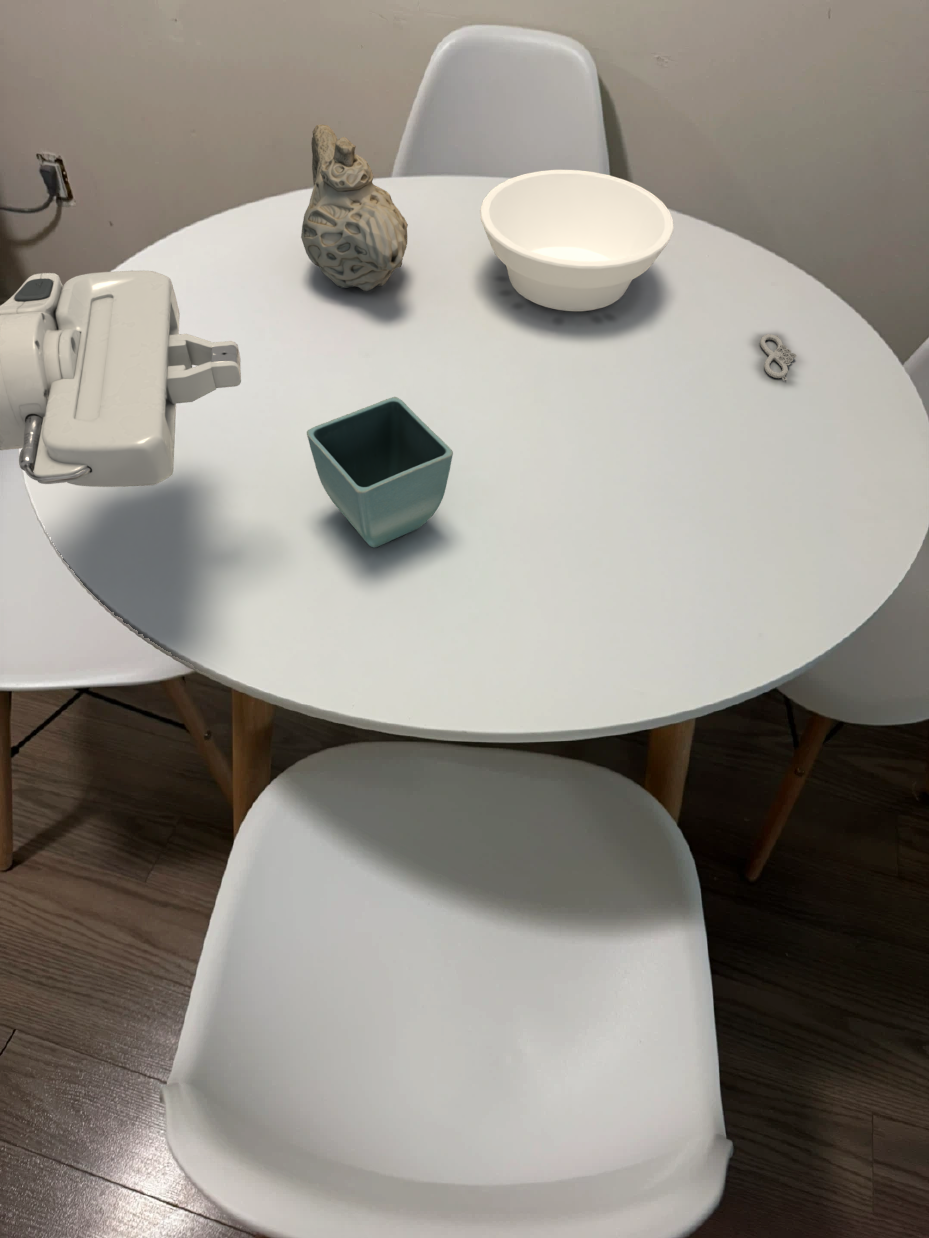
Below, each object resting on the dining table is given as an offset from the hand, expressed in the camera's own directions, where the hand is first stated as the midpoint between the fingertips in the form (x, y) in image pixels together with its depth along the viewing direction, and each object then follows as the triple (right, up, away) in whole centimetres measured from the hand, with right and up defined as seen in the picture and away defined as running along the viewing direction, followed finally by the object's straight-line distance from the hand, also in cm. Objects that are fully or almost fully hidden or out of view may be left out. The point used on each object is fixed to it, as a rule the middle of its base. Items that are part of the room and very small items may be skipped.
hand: (239, 363), depth 62 cm
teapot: (+3, +22, +39) cm, 45 cm away
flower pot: (+9, -10, +15) cm, 20 cm away
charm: (+49, +10, +32) cm, 59 cm away
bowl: (+28, +20, +39) cm, 52 cm away
